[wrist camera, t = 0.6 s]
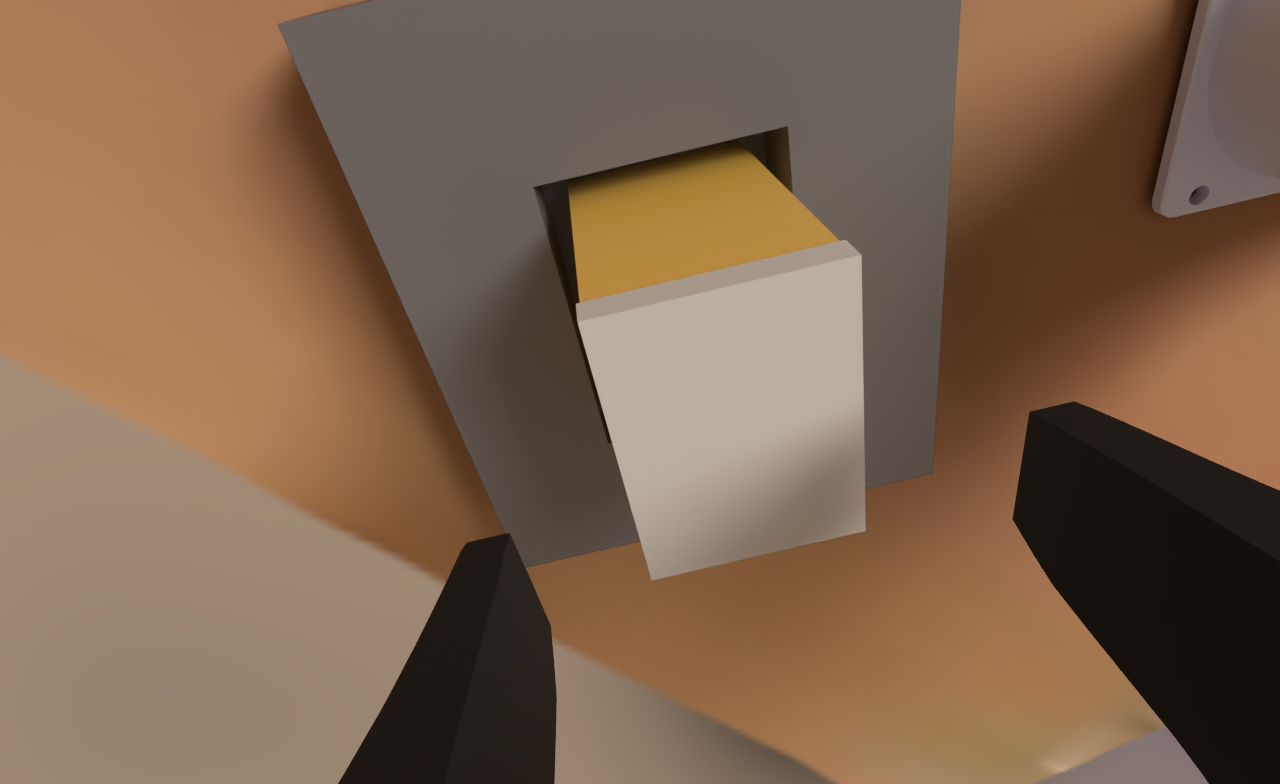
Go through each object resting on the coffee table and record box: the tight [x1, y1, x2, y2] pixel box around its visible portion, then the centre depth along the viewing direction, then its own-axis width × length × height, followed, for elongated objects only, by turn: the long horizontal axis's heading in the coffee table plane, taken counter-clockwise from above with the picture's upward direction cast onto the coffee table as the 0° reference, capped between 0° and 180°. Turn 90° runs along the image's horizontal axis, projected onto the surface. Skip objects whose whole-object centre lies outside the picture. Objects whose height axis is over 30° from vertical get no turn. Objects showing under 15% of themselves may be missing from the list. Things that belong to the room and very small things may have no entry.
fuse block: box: [278, 0, 961, 568], centre depth 16 cm, size 12×14×3 cm
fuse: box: [567, 140, 866, 580], centre depth 14 cm, size 4×6×7 cm
